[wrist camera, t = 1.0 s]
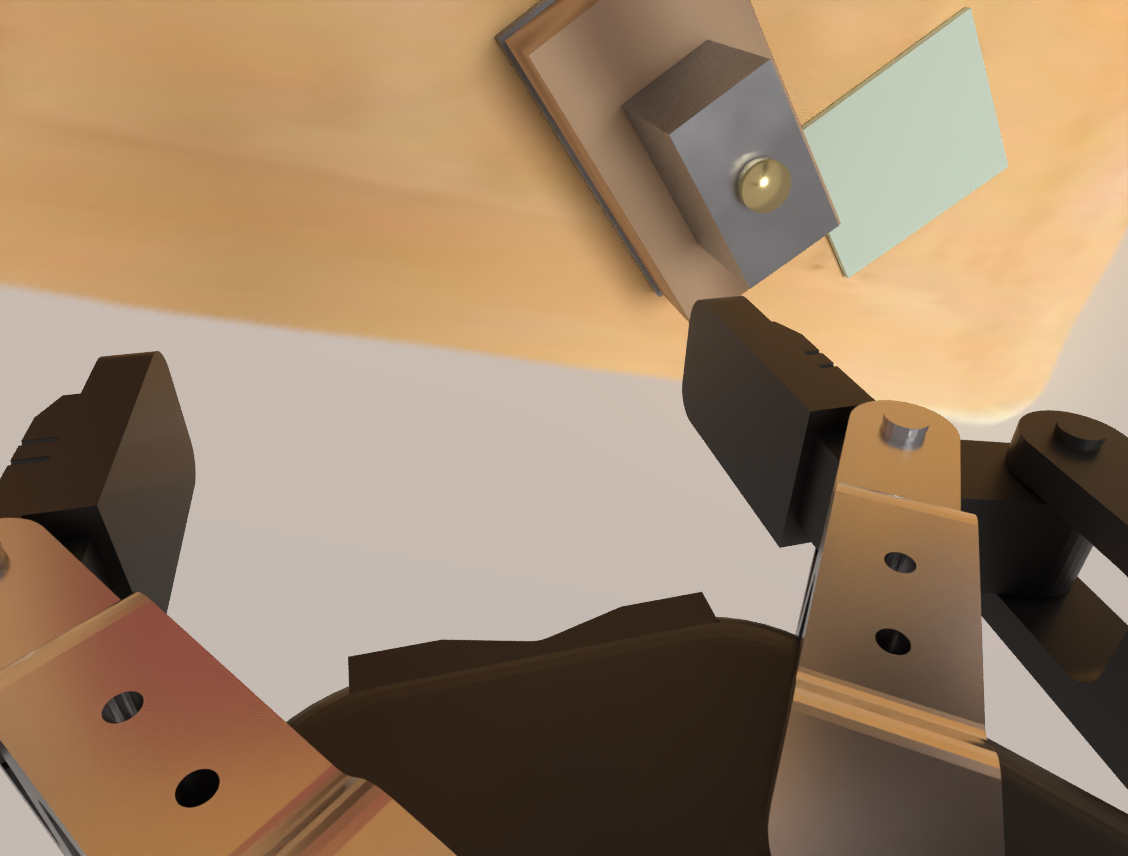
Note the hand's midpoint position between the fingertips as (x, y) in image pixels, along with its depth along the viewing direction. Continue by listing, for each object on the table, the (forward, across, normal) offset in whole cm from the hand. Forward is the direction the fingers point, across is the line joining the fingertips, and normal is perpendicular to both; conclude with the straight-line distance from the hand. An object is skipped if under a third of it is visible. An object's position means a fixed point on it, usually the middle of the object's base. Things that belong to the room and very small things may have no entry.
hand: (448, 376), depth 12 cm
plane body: (+25, -13, +2) cm, 28 cm away
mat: (+25, -26, +4) cm, 36 cm away
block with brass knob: (+20, -13, +2) cm, 23 cm away
